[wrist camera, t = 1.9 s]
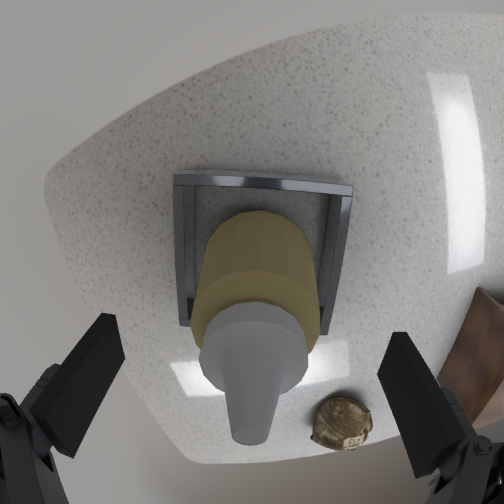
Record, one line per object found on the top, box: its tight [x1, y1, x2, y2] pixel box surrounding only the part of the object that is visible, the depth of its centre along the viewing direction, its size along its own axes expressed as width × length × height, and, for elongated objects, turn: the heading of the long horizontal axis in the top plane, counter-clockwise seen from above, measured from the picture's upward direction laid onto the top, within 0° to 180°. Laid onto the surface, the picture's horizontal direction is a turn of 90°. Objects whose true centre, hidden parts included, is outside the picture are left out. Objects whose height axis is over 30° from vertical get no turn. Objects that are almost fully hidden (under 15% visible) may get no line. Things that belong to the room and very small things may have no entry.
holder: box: [173, 169, 354, 335], centre depth 23 cm, size 13×13×4 cm
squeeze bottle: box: [190, 210, 320, 446], centre depth 17 cm, size 8×8×18 cm
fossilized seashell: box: [310, 397, 373, 451], centre depth 31 cm, size 8×7×10 cm
